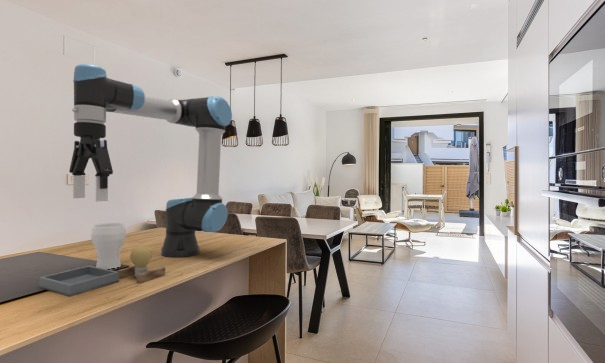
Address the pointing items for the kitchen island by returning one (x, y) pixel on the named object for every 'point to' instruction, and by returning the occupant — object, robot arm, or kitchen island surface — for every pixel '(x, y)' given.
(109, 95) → the robot arm
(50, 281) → the tray
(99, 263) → the cup
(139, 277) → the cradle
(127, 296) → the kitchen island surface
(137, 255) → the light bulb
